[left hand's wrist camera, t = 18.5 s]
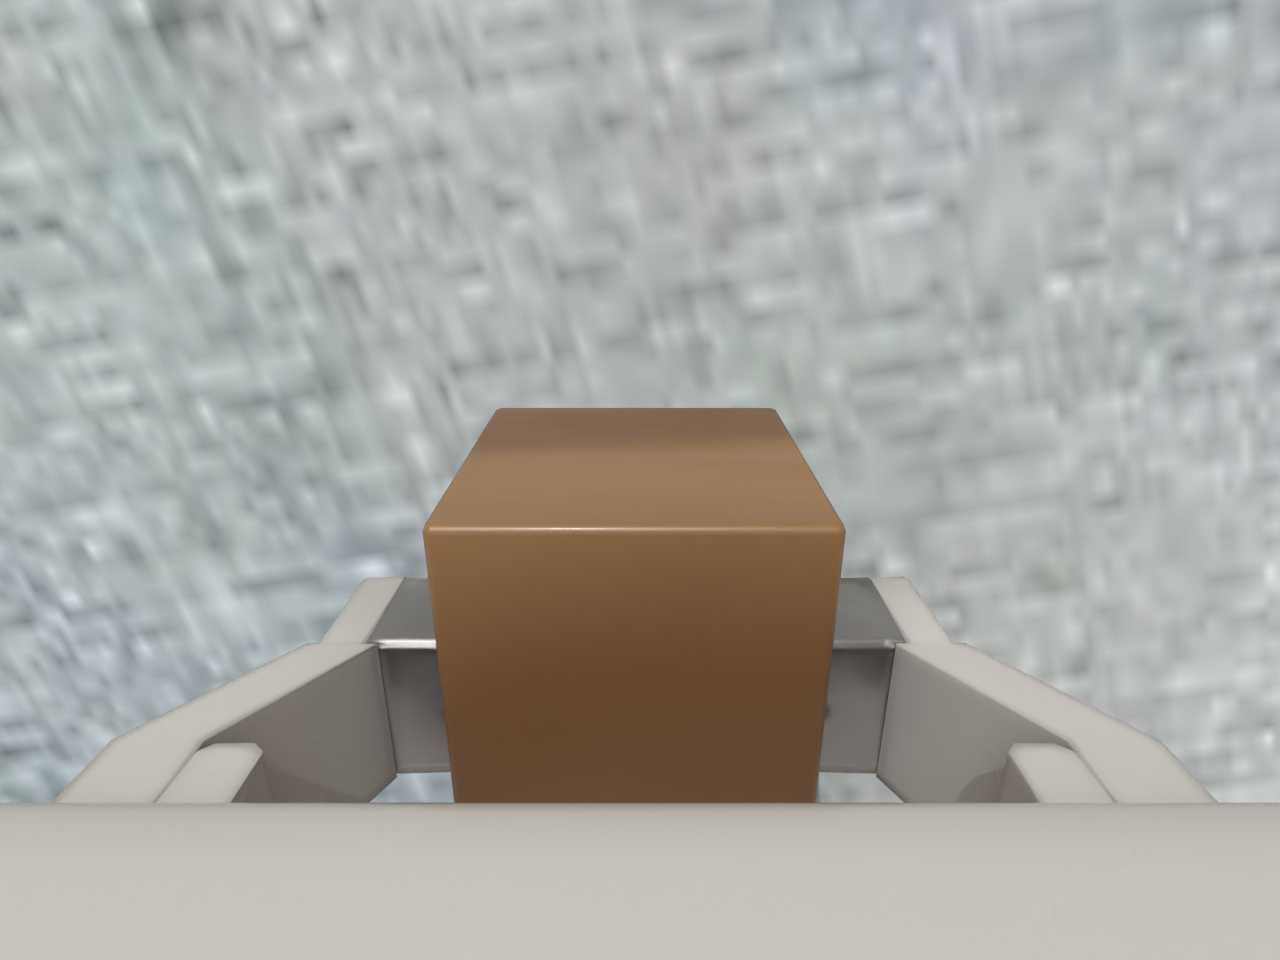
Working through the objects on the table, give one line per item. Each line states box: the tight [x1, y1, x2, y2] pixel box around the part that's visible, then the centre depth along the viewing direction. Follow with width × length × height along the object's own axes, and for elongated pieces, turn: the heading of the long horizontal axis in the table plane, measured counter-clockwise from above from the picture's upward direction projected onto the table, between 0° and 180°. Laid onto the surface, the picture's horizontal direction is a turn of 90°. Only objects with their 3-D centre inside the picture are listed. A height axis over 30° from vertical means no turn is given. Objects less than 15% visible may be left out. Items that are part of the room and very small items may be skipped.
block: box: [423, 408, 846, 803], centre depth 10 cm, size 5×4×4 cm
